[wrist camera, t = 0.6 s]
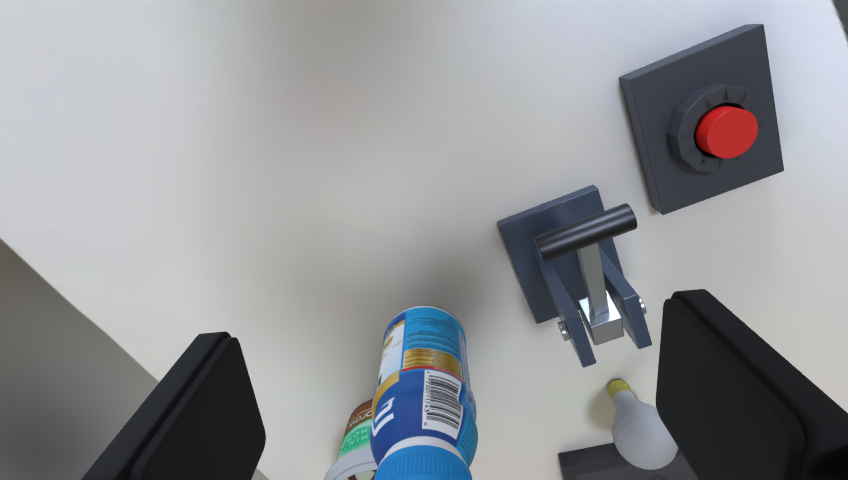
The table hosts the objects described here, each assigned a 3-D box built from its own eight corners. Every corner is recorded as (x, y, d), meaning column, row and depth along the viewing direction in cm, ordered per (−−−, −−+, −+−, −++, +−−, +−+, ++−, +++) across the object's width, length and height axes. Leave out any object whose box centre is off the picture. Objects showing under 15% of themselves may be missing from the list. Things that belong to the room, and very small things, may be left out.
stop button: (691, 117, 37) (703, 121, 35) (739, 98, 36) (754, 101, 35) (700, 160, 38) (712, 165, 36) (747, 142, 37) (761, 147, 36)
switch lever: (529, 227, 29) (542, 257, 27) (621, 192, 28) (640, 221, 26) (561, 326, 37) (572, 353, 36) (631, 302, 36) (647, 328, 35)
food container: (390, 367, 50) (381, 441, 41) (431, 400, 52) (432, 479, 43) (313, 431, 54) (289, 512, 44) (354, 460, 55) (340, 545, 46)
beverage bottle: (480, 353, 50) (511, 541, 31) (407, 383, 51) (395, 579, 33) (443, 288, 47) (453, 452, 28) (367, 322, 48) (330, 499, 30)
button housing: (618, 77, 39) (638, 81, 35) (745, 24, 38) (780, 22, 34) (651, 207, 43) (672, 223, 40) (767, 164, 42) (800, 177, 38)
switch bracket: (496, 221, 44) (522, 289, 32) (593, 184, 43) (657, 241, 31) (534, 317, 48) (568, 409, 36) (624, 286, 46) (690, 371, 35)
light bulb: (651, 387, 51) (701, 464, 42) (606, 412, 52) (644, 492, 43) (626, 353, 49) (672, 426, 40) (580, 380, 51) (614, 456, 42)
